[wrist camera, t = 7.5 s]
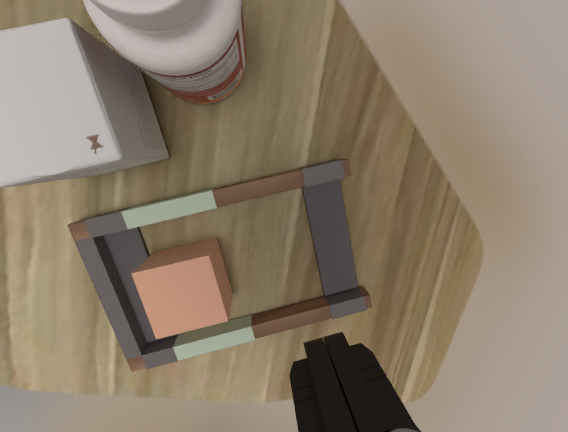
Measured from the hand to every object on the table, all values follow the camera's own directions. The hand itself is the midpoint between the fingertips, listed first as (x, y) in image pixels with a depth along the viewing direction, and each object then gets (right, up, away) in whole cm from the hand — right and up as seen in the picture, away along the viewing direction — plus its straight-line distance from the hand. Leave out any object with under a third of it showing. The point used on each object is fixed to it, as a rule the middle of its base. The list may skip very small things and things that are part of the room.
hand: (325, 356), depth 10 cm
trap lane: (-5, +1, +12) cm, 13 cm away
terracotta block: (-9, +1, +12) cm, 15 cm away
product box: (-13, +12, +9) cm, 20 cm away
